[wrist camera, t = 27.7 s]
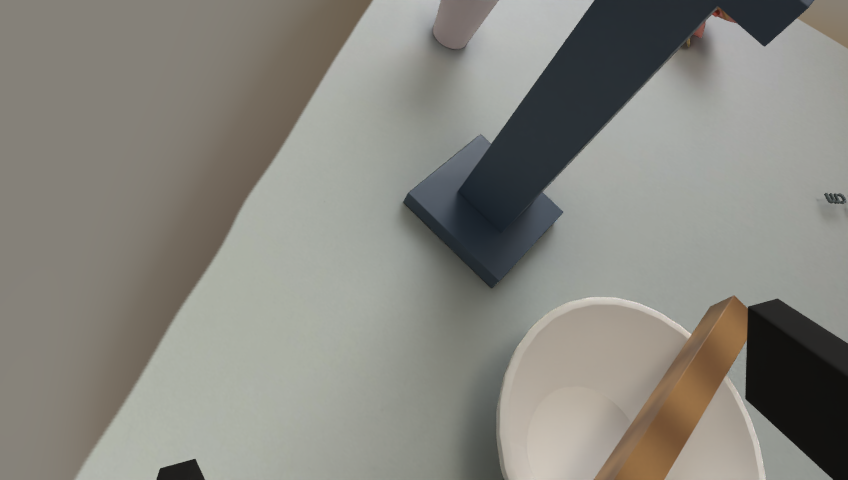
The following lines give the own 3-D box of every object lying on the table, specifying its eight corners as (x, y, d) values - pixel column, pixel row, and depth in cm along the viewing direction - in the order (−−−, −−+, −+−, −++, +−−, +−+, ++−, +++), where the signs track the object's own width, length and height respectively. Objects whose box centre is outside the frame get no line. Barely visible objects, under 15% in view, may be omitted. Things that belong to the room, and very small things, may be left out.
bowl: (722, 605, 42) (805, 613, 36) (464, 620, 36) (514, 632, 30) (664, 337, 51) (724, 310, 45) (451, 316, 45) (488, 281, 39)
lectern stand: (476, 304, 46) (834, -16, 20) (386, 215, 47) (617, -198, 21) (555, 220, 53) (901, -104, 27) (474, 143, 54) (733, -241, 28)
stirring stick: (542, 639, 31) (566, 646, 29) (509, 602, 31) (531, 606, 29) (733, 330, 44) (759, 319, 42) (710, 306, 45) (734, 294, 43)
